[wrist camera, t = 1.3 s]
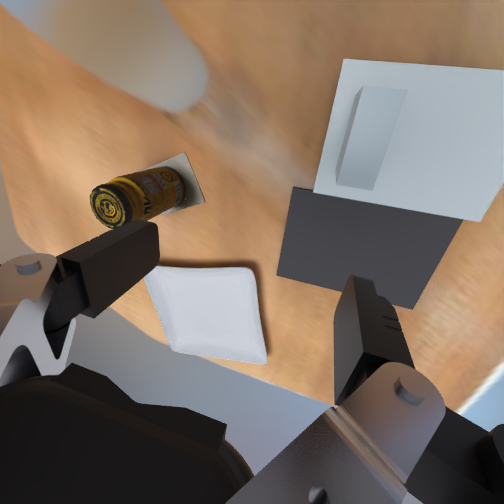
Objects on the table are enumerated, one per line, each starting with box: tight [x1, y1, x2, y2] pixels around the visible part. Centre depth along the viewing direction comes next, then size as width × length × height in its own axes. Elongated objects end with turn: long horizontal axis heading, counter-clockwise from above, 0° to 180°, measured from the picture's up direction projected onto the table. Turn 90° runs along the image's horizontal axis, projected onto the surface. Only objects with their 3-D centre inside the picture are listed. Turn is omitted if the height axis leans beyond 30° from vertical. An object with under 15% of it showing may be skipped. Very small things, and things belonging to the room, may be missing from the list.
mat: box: [277, 187, 464, 310], centre depth 34 cm, size 14×20×1 cm
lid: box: [313, 59, 504, 222], centre depth 19 cm, size 15×11×8 cm
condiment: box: [90, 152, 205, 229], centre depth 32 cm, size 7×8×12 cm
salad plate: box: [144, 266, 268, 365], centre depth 46 cm, size 21×21×3 cm
